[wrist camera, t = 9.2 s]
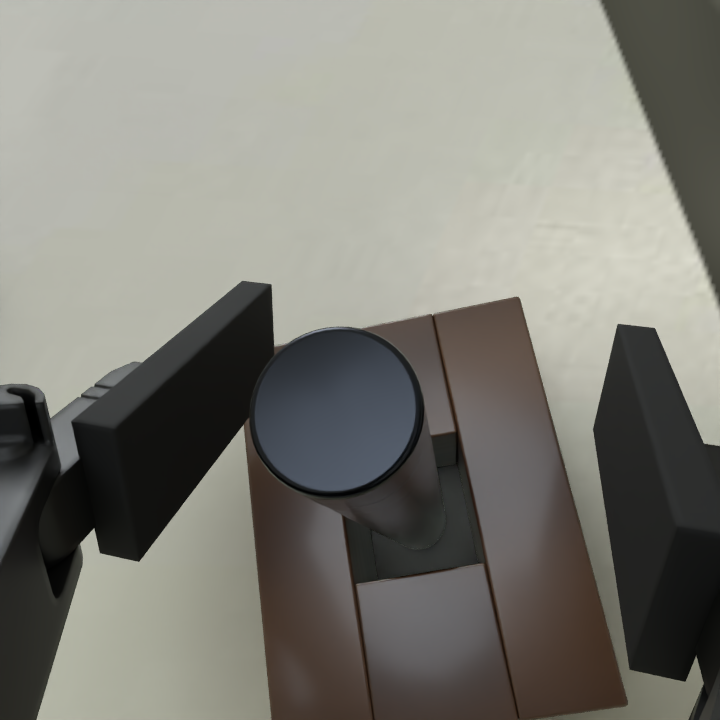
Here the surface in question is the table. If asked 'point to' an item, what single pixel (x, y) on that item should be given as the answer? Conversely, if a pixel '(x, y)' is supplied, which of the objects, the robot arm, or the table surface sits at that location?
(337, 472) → the black peg
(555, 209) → the table surface
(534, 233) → the table surface
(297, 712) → the holder
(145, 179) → the table surface
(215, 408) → the robot arm
